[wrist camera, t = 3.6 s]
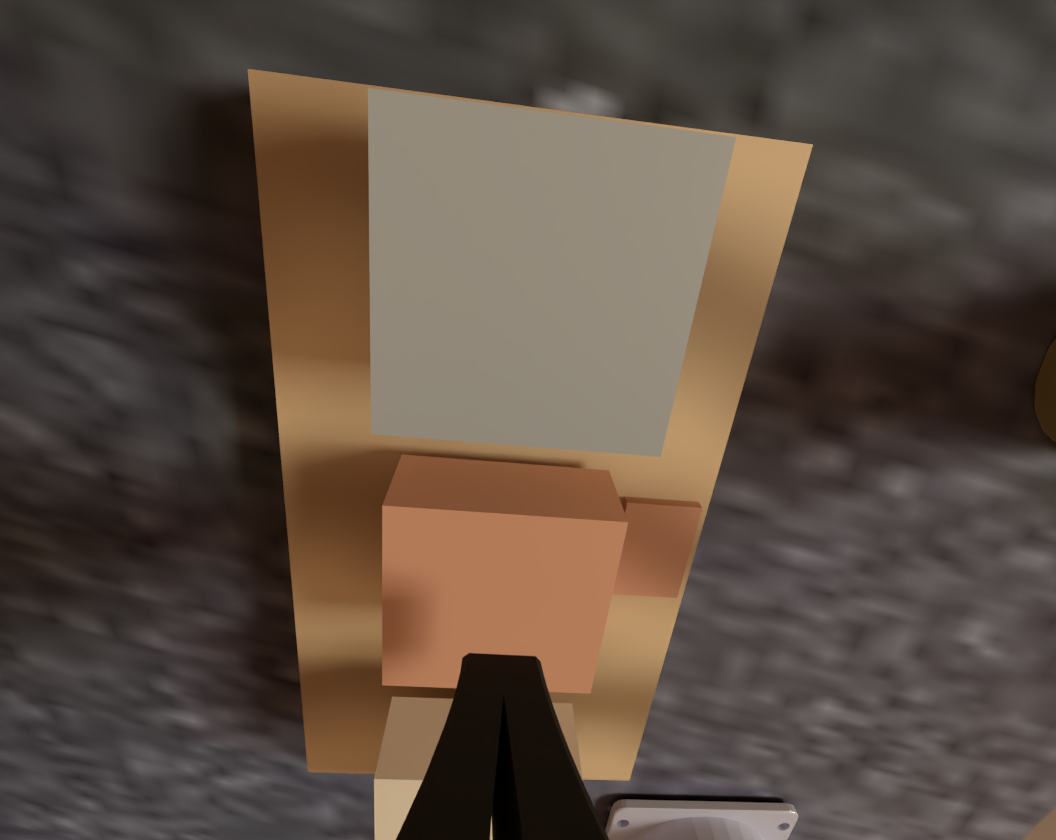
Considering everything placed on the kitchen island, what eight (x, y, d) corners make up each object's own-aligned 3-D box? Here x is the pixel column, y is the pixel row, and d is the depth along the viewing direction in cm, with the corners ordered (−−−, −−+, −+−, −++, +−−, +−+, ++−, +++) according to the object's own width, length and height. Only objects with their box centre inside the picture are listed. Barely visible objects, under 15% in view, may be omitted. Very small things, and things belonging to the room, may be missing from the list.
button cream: (549, 813, 17) (556, 897, 15) (391, 810, 16) (375, 896, 14) (572, 703, 15) (583, 784, 13) (392, 696, 14) (374, 778, 12)
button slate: (632, 409, 11) (660, 456, 9) (395, 388, 11) (371, 434, 9) (685, 148, 9) (736, 137, 7) (398, 111, 9) (367, 87, 7)
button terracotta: (578, 625, 15) (590, 693, 13) (399, 616, 14) (382, 685, 12) (608, 470, 13) (628, 522, 11) (401, 454, 12) (382, 505, 10)
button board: (617, 727, 20) (637, 820, 17) (326, 717, 19) (293, 814, 16) (767, 151, 12) (851, 139, 9) (288, 88, 12) (212, 52, 9)
